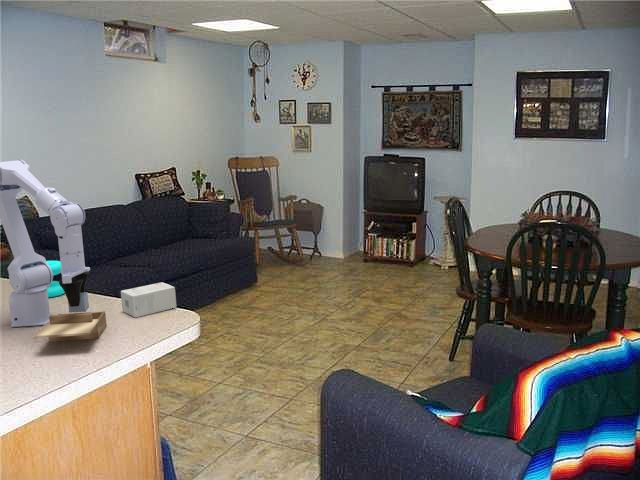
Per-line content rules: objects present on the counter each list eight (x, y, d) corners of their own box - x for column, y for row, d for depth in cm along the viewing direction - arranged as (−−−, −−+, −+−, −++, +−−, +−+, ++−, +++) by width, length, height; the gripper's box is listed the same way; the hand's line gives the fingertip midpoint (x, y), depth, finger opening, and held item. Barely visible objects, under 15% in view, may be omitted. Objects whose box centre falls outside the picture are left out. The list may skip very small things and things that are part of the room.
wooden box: (49, 341, 167) (47, 326, 167) (59, 328, 177) (58, 313, 176) (98, 338, 169) (97, 323, 168) (106, 325, 178) (105, 311, 178)
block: (69, 312, 171) (67, 297, 170) (73, 308, 174) (71, 293, 174) (85, 311, 171) (83, 296, 170) (89, 307, 175) (87, 292, 174)
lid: (35, 337, 157) (34, 327, 157) (47, 323, 168) (46, 314, 167) (89, 334, 159) (88, 324, 158) (98, 320, 169) (97, 311, 168)
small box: (134, 318, 184) (177, 308, 192) (132, 296, 183) (175, 286, 191) (122, 312, 190) (164, 302, 199) (120, 290, 189) (162, 281, 197)
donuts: (22, 265, 206) (47, 258, 215) (25, 297, 208) (50, 288, 217) (46, 268, 202) (70, 260, 210) (49, 300, 204) (74, 291, 212)
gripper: (81, 257, 163) (86, 311, 166) (94, 245, 177) (98, 294, 180) (51, 258, 162) (56, 312, 165) (66, 246, 176) (71, 296, 179)
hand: (76, 303), depth 172 cm, fingers closed on block, 4 cm apart
